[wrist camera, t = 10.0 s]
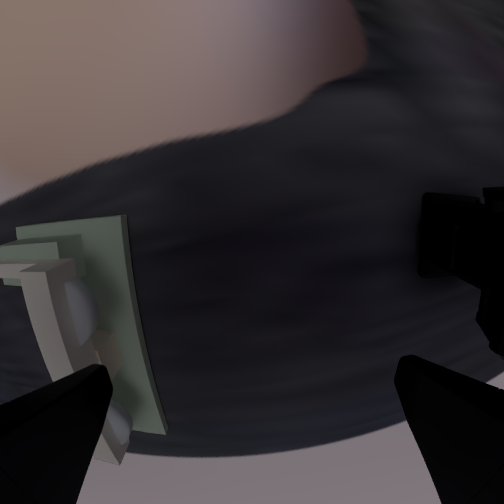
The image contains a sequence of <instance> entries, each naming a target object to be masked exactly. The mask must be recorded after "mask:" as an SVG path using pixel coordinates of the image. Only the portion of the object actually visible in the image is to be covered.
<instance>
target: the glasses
mask: <svg viewBox="0 0 504 504" xmlns="http://www.w3.org/2000/svg"><path fill="white" fill-rule="evenodd" d="M0 278H15V279H20V280H21V285H22V289H23V293H24V297H25V301H26V305H27V309H28V312H29V316H30V319H31V323H32V326H33V329H34V332H35V336H36V339H37V341H38V344H39V347H40V350H41V353H42V355H43V358H44V361H45V363H46V366H47V368H48V371H49V373H50V376H51V378H52V380H53V382H54V381H57V380H59V379H61V378H63V377H65V376H68V375H70V374H72V373H74V372H76V371H78V370H81V369H83V368H85V367H87V366H89V365H91V364H99V362H98V359H97V356H96V352H95V349H94V346H93V342H92V339H91V336H92V335H93V334H94V332H95V331H96V329H97V327H98V324H99V310H98V305H97V302H96V300H95V297H94V295H93V293H92V292H91V290H90V289H89V287H88V286H87V285H86V284H85V282H84V281H82V280H81V279H80V278H79V277H78V276H77V273H76V267H75V261H74V258H66V259H30V260H3V261H0ZM132 429H133V420H132V417H131V415H130V414H129V412H128V411H127V410H126V409H125V408H124V407H123V406H122V405H121V404H120V403H118V402H117V401H116V400H114V399H112V398H111V401H110V405H109V408H108V412H107V415H106V419H105V423H104V426H103V430H102V432H101V435H100V438H99V440H98V443H97V445H96V448H95V451H94V453H93V457H94V458H95V459H97V460H101V461H104V462H109V463H112V464H116V465H120V464H121V462H122V459H123V457H124V454H125V452H126V450H127V447H128V445H129V442H130V440H129V435H130V433H131V431H132Z"/></svg>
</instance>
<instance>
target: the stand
mask: <svg viewBox="0 0 504 504" xmlns="http://www.w3.org/2000/svg"><path fill="white" fill-rule="evenodd" d="M16 233H17V240H16V241H13V242H10V243H6V244H3V245H0V261H3V260H30V259H66V258H74V261H75V267H76V273H77V276H78V277H79V278H80V279H81V280H82V281H84V282H85V284H86V285H87V286H88V287H89V289H90V290H91V292H92V293H93V295H94V297H95V300H96V302H97V305H98V310H99V324H98V327H97V329H96V331H95V332H94V334H93V335H92V336H91V339H92V342H93V346H94V349H95V352H96V356H97V359H98V362H99V364H101V365H105V366H106V368H107V370H108V373H109V376H110V379H111V382H112V384H113V394H112V399H114V400H116V401H117V402H118V403H120V404H121V405H122V406H123V407H124V408H125V409H126V410H127V411H128V412H129V414H130V415H131V417H132V420H133V429H132V430H136V431H143V432H149V433H156V434H164V435H166V434H167V430H168V425H167V422H166V419H165V416H164V413H163V409H162V406H161V403H160V399H159V396H158V392H157V389H156V385H155V381H154V377H153V374H152V370H151V366H150V361H149V357H148V353H147V349H146V344H145V339H144V335H143V330H142V325H141V320H140V314H139V309H138V303H137V297H136V291H135V285H134V278H133V271H132V263H131V255H130V246H129V237H128V226H127V215H115V216H104V217H94V218H84V219H74V220H65V221H57V222H48V223H40V224H33V225H25V226H20V227H16ZM3 281H4V285H16V286H22V285H21V280H20V279H15V278H3Z"/></svg>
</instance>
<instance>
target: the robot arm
mask: <svg viewBox="0 0 504 504" xmlns="http://www.w3.org/2000/svg"><path fill="white" fill-rule="evenodd" d="M429 197H430V198H431V200H430V202H429V200H428V199H429ZM483 197H485V204H482V203H481V201H480V199H479V198H478V197H470V196H461V195H452V194H441V193H430V192H427V193H425V194H424V196H423V219H422V228H421V243H420V260H419V269H418V274H419V275H420V276H421V277H422V278H432V277H443V276H452V275H454V276H456V277H458V278H460V279H462V280H464V281H466V282H467V283H469V284H471V285H473V286H475V287H477V288H479V289H481V296H480V303H479V310H478V312H477V314H476V321H477V323H478V324H479V326H480V327H481V329H482V331H483V332H484V334H485V336H486V337H487V339H488V340H489V348H490V349H491V350H492V351H493V352H494V353H496V354H497V355H498V356H500V357H501V358H502V359H503V360H504V187H487V188H483ZM425 269H426V271H425V273H423V271H424V270H425ZM394 383H395V387H396V390H397V393H398V395H399V398H400V401H401V404H402V407H403V410H404V413H405V416H406V419H407V422H408V424H409V427H410V429H411V431H412V433H413V435H414V438H415V440H416V442H417V444H418V447H419V449H420V451H421V454H422V456H423V458H424V461H425V463H426V465H427V468H428V470H429V473H430V475H431V477H432V480H433V483H434V485H435V488H436V490H437V493H438V496H439V498H440V501H441V503H442V504H504V390H503V389H499V388H497V387H494V386H492V385H489V384H486V383H484V382H481V381H478V380H476V379H473V378H470V377H468V376H465V375H463V374H460V373H457V372H455V371H452V370H450V369H447V368H445V367H442V366H440V365H437V364H435V363H432V362H430V361H427V360H425V359H422V358H420V357H417V356H415V355H407V356H403V357H401V358H400V360H399V363H398V367H397V370H396V374H395V378H394ZM112 394H113V384H112V382H111V379H110V376H109V373H108V370H107V368H106V366H105V365H101V364H91V365H89V366H87V367H85V368H83V369H81V370H78V371H76V372H74V373H72V374H70V375H68V376H65V377H63V378H61V379H59V380H57V381H54V382H52V383H50V384H48V385H46V386H43V387H41V388H39V389H37V390H34V391H32V392H30V393H28V394H25V395H23V396H21V397H18V398H16V399H14V400H11V401H10V402H7V403H4V404H2V405H0V504H76V502H77V499H78V496H79V493H80V490H81V487H82V484H83V481H84V478H85V475H86V473H87V470H88V467H89V464H90V461H91V458H92V456H93V453H94V451H95V448H96V445H97V443H98V440H99V438H100V435H101V432H102V430H103V426H104V423H105V419H106V415H107V412H108V408H109V405H110V401H111V398H112Z"/></svg>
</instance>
